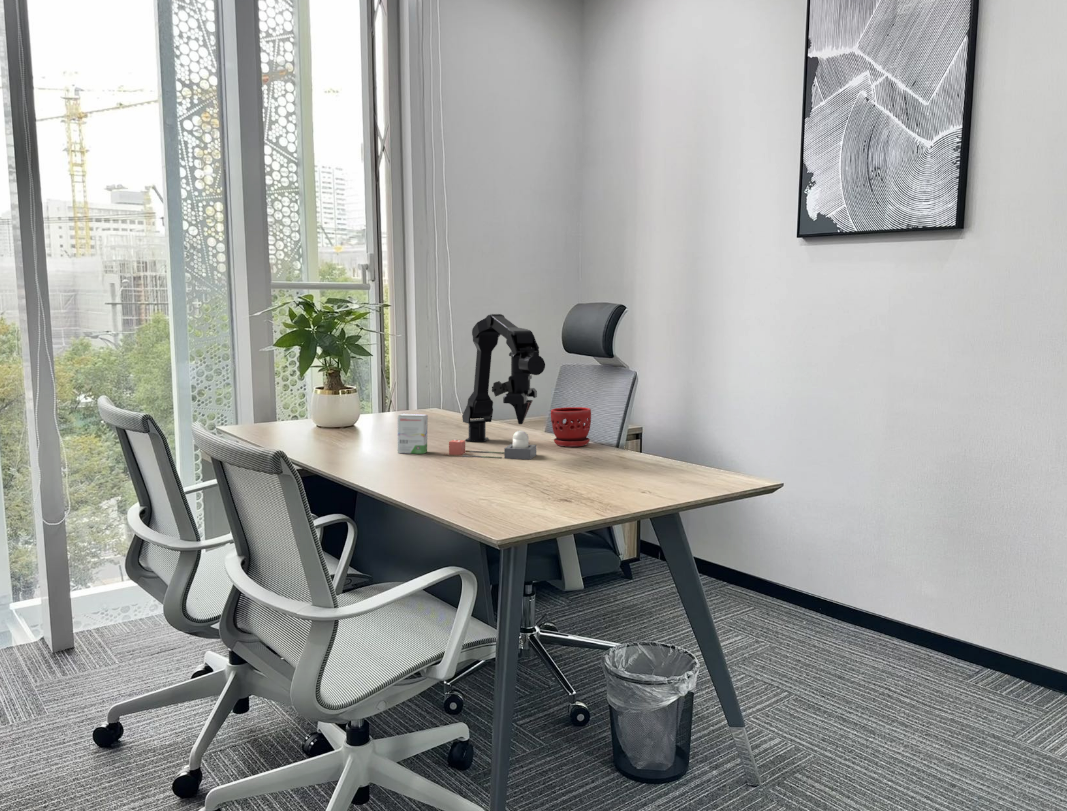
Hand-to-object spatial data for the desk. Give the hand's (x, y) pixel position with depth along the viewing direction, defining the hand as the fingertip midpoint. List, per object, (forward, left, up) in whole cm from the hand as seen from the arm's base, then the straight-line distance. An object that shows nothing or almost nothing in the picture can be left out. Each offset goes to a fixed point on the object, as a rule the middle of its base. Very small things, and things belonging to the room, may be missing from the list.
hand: (520, 424), depth 259 cm
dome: (0, 0, -8) cm, 8 cm away
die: (0, -20, -10) cm, 22 cm away
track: (0, -14, -10) cm, 17 cm away
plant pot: (-24, +11, -10) cm, 28 cm away
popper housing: (0, 0, -10) cm, 10 cm away
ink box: (+1, -34, -10) cm, 35 cm away
